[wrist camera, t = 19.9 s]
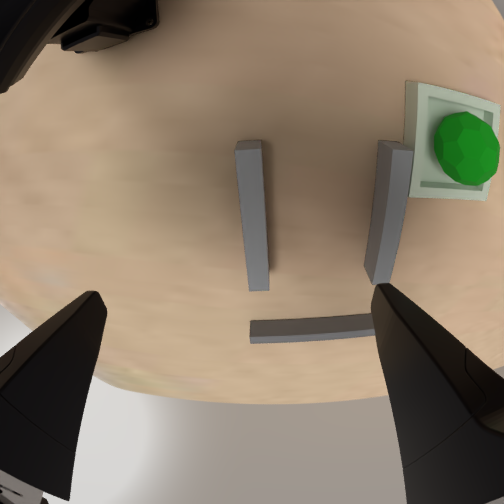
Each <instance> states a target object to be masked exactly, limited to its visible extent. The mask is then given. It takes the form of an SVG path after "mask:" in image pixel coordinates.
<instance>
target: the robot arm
mask: <svg viewBox="0 0 504 504" xmlns="http://www.w3.org/2000/svg"><path fill="white" fill-rule="evenodd" d="M150 20H153V23H152V24H151V25H148V22H149V21H150ZM158 24H159V14H158V0H0V94H1V93H5V92H7V90H8V89H9V87H10V86H12V85H14V84H15V83H16V82H18V81H19V80H21V79H22V78H23V77H24V75H25V74H26V72H27V71H28V69H29V68H30V66H31V65H32V63H33V62H34V61H35V59H36V58H37V56H38V55H39V54H40V52H41V51H42V50H43V48H44V47H45V46H46V44H61V49H62V50H64V51H75V53H80V54H81V53H84V52H87V51H99V50H102V49H105V48H107V47H110V46H113V45H116V44H119V43H122V42H125V41H127V40H128V39H129V38H130V36H131V35H134V34H137V33H141V32H144V31H148V30H151V29H154V28H156V27H157V26H158ZM371 313H372V318H373V324H374V330H375V336H376V342H377V348H378V354H379V358H380V362H381V366H382V369H383V373H384V377H385V381H386V385H387V390H388V394H389V398H390V403H391V407H392V412H393V417H394V421H395V426H396V431H397V437H398V442H399V447H400V454H401V460H402V467H403V474H404V482H405V490H406V499H407V504H504V379H503V378H502V377H501V376H500V375H498V374H497V373H496V372H495V371H494V370H492V369H491V368H490V367H489V366H487V365H486V364H485V363H484V362H483V361H481V360H480V359H479V358H478V357H477V356H476V355H475V354H474V353H472V352H471V351H470V350H469V349H468V348H466V347H465V346H464V345H463V344H462V343H461V342H460V341H459V340H458V339H457V338H455V337H454V336H453V335H452V334H451V333H450V332H449V331H447V330H446V329H445V328H444V327H443V326H442V325H440V324H439V323H438V322H437V321H436V320H434V319H433V318H432V317H431V316H430V315H428V314H427V313H426V312H425V311H424V310H422V309H421V308H420V307H419V306H418V305H416V304H415V303H414V302H413V301H411V300H410V299H409V298H408V297H407V296H405V295H404V294H403V293H402V292H400V291H399V290H398V289H396V288H395V287H394V286H393V285H391V284H390V283H379V284H377V285H376V287H375V290H374V294H373V298H372V302H371ZM106 318H107V308H106V306H105V304H104V302H103V300H102V298H101V296H100V294H99V293H98V292H97V291H86V292H85V293H83V294H82V295H80V296H79V297H78V298H76V299H75V300H74V301H72V302H71V303H69V304H68V305H67V306H65V307H64V308H63V309H61V310H60V311H59V312H57V313H56V314H55V315H53V316H52V317H51V318H49V319H48V320H47V321H45V322H44V323H43V324H42V325H40V326H39V327H38V328H36V329H35V330H34V331H33V332H31V333H30V334H29V335H28V336H26V337H25V338H24V339H23V340H21V341H20V342H19V343H18V344H17V345H15V346H14V347H13V348H11V349H10V350H9V351H8V352H6V353H5V354H4V355H3V356H1V357H0V504H48V501H47V499H45V498H43V497H42V495H43V491H44V492H46V493H48V494H51V495H53V496H56V497H58V498H61V499H64V500H66V501H69V499H70V492H71V483H72V475H73V467H74V461H75V452H76V447H77V442H78V436H79V431H80V426H81V421H82V417H83V412H84V408H85V403H86V399H87V395H88V391H89V387H90V383H91V380H92V376H93V372H94V369H95V365H96V362H97V358H98V354H99V350H100V346H101V341H102V336H103V331H104V327H105V322H106Z"/></svg>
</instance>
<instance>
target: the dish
mask: <svg viewBox="0 0 504 504" xmlns="http://www.w3.org/2000/svg"><path fill="white" fill-rule="evenodd" d="M465 111H468V112H469V113H471V114H473V115H475V116H477V117H478V118H480V119H481V120H483V121H484V122H486V123H487V124H489V125H490V126H491V127H492V129H493V131H494V133H495V135H496V137H497V140H498V131H499V120H500V105H499V104H496V103H493V102H490V101H487V100H484V99H481V98H478V97H475V96H472V95H468V94H465V93H461V92H458V91H454V90H450V89H446V88H442V87H438V86H433V85H429V84H424V83H419V82H411V81H406V98H405V127H404V142H403V145H404V146H406V147H407V148H409V149H411V150H412V151H413V159H412V168H411V176H410V184H409V191H408V197H413V198H443V199H464V200H480V201H486V200H487V196H488V192H489V187H490V182H491V178H490V179H489V180H488V181H487V182H485V183H483V184H481V185H479V186H469V185H463V184H461V183H458V182H455V181H454V180H453V179H452V178H450V177H449V176H448V175H447V174H445V173H444V171H443V169H442V167H441V165H440V164H439V162H438V159H437V157H436V154H435V152H434V135H435V133H436V130H437V128H438V126H439V125H440V123H441V122H442V120H443V119H444V117H446V116H448V115H451V114H454V113H458V112H465Z"/></svg>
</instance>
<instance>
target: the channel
mask: <svg viewBox="0 0 504 504" xmlns="http://www.w3.org/2000/svg"><path fill="white" fill-rule="evenodd" d="M234 151H235V161H236V171H237V181H238V190H239V200H240V210H241V219H242V228H243V238H244V247H245V256H246V266H247V275H248V284H249V291H269V259H268V241H267V223H266V206H265V190H264V175H263V160H262V145H261V140H253V141H239V142H238V143H237V145H236V148H235V150H234ZM412 159H413V151H412V150H411V149H409V148H407V147H406V146H404V145H402V144H401V143H399V142H395V141H382V140H378V156H377V169H376V181H375V191H374V200H373V208H372V216H371V224H370V231H369V238H368V244H367V250H366V256H365V262H364V267H365V269H366V272H367V274H368V276H369V279H370V281H371V283H372V285H376V284H379V283H389V282H390V278H391V275H392V271H393V267H394V263H395V258H396V254H397V250H398V245H399V241H400V236H401V231H402V226H403V221H404V215H405V209H406V204H407V197H408V191H409V184H410V176H411V168H412ZM374 335H375V330H374V324H373V318H372V314H362V315H351V316H339V317H325V318H309V319H290V320H264V321H250V344H256V343H287V342H306V341H321V340H334V339H345V338H355V337H365V336H374Z"/></svg>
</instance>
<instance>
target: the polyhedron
mask: <svg viewBox="0 0 504 504" xmlns="http://www.w3.org/2000/svg"><path fill="white" fill-rule="evenodd" d="M434 152H435V154H436V157H437V159H438V162H439V164H440V165H441V167H442V169H443V171H444V173H445V174H447V175H448V176H449V177H450V178H452V179H453V180H454V181H455V182H458V183H461V184H463V185H469V186H479V185H481V184H483V183H485V182H487V181H488V180H489V179H490V178H491V177H492V176H493V175H494V174H495V173H496V171H497V167H498V163H499V152H500V146H499V142H498V140H497V137H496V135H495V133H494V131H493V129H492V127H491V126H490V125H489V124H487V123H486V122H484V121H483V120H481V119H480V118H478V117H477V116H475V115H473V114H471V113H469V112H468V111H465V112H458V113H454V114H451V115H448V116H446V117H444V119H443V120H442V122H441V123H440V125H439V126H438V128H437V130H436V133H435V135H434Z"/></svg>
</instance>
